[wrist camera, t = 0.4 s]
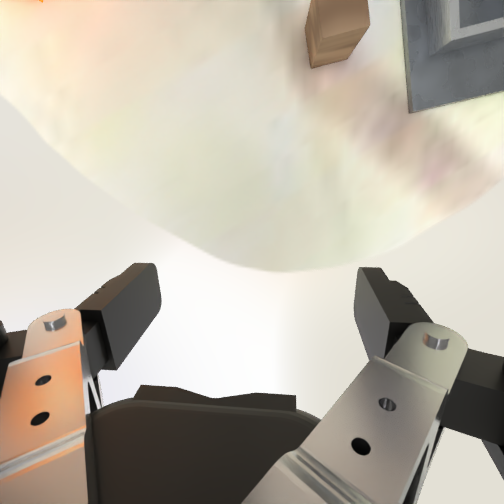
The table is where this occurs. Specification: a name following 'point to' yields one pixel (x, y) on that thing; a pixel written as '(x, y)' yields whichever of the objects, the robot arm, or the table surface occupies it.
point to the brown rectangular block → (335, 29)
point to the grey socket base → (452, 50)
